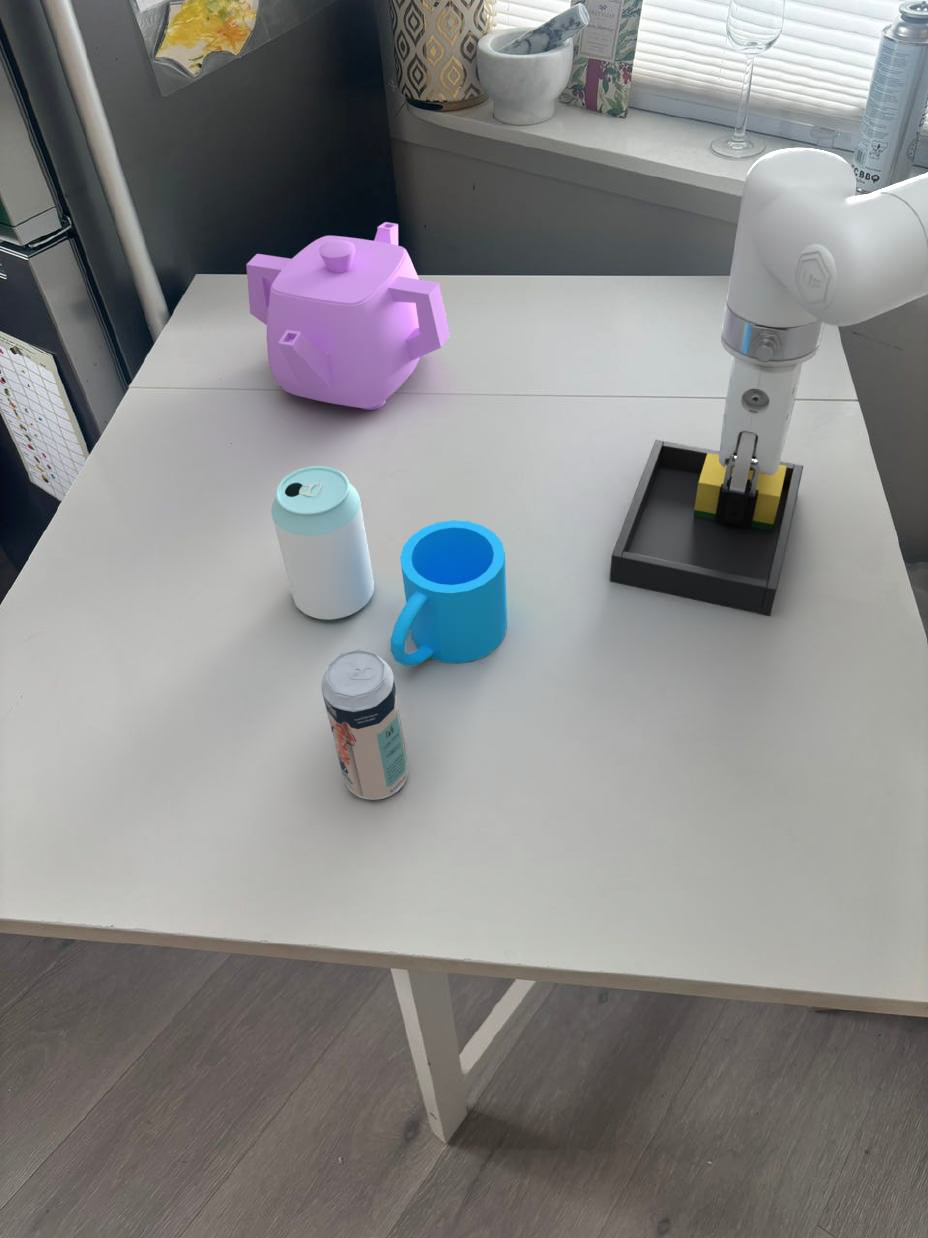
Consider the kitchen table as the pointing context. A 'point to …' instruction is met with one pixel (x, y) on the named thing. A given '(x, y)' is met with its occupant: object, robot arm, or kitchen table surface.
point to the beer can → (365, 724)
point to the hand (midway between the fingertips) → (738, 503)
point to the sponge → (766, 483)
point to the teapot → (346, 317)
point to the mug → (451, 594)
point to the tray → (699, 537)
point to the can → (323, 542)
